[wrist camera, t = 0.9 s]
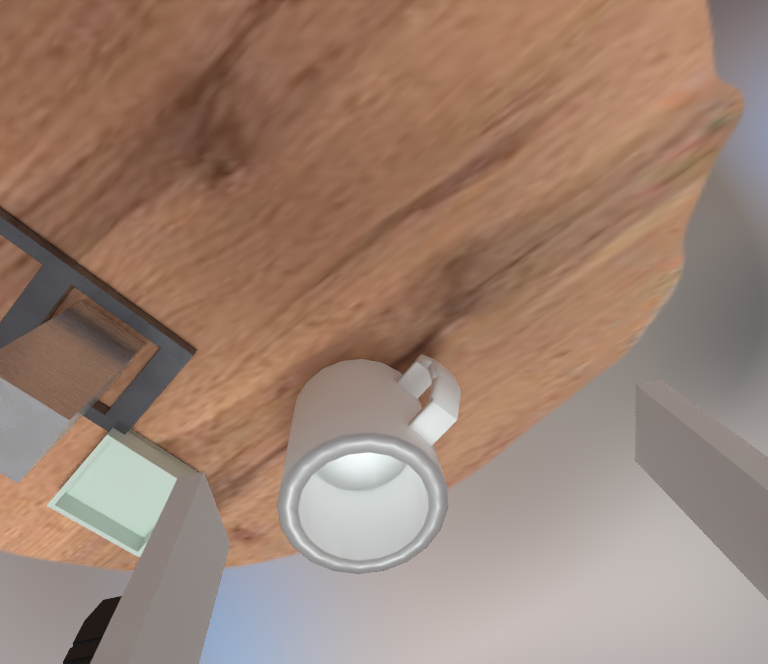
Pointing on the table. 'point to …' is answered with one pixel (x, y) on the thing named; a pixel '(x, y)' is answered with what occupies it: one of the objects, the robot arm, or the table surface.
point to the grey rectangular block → (56, 381)
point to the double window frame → (66, 274)
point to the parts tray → (121, 489)
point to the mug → (367, 464)
